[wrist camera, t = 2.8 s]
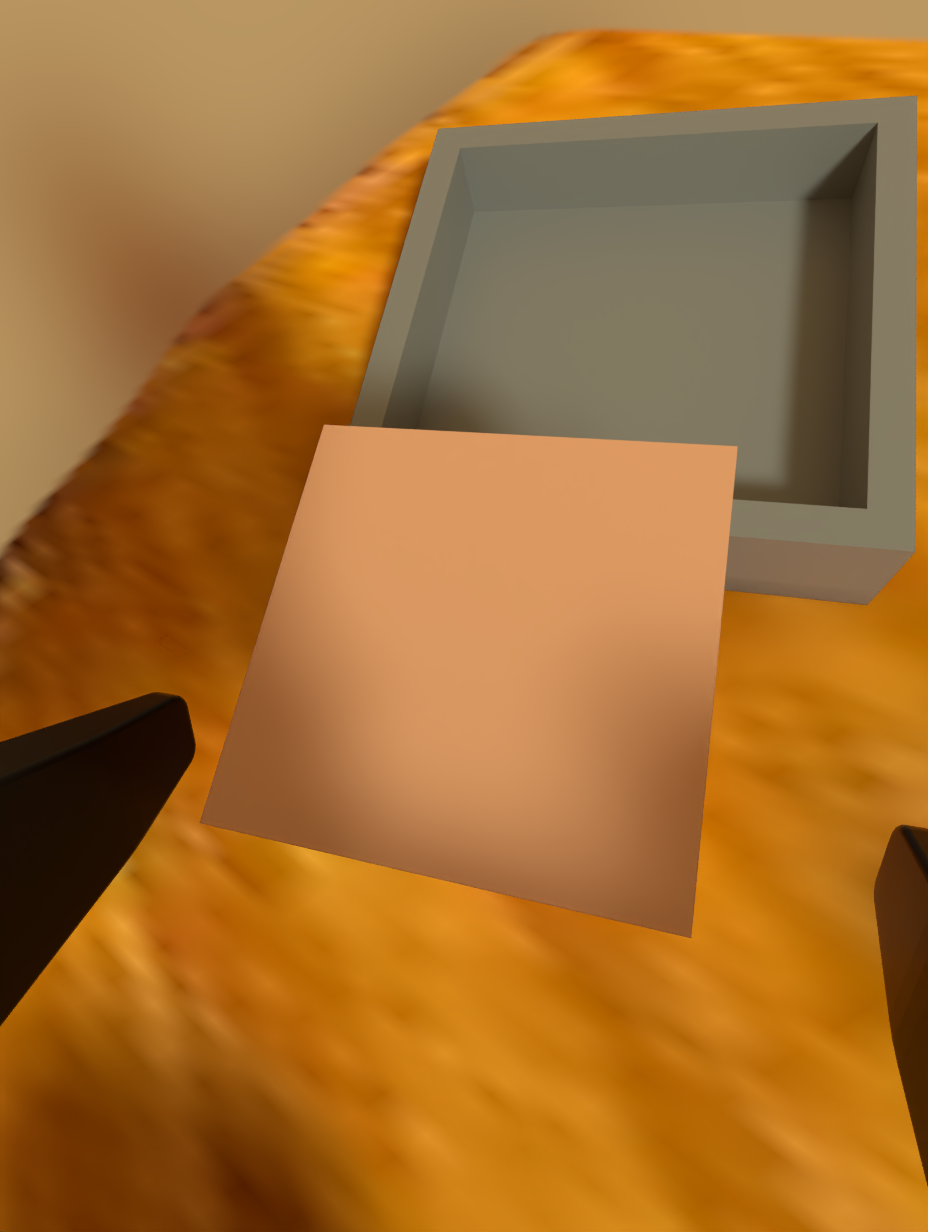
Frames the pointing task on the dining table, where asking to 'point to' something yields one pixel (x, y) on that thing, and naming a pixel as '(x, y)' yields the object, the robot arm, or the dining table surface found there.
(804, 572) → the tote
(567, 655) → the carton
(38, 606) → the dining table surface
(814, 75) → the dining table surface
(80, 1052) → the dining table surface
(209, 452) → the dining table surface
